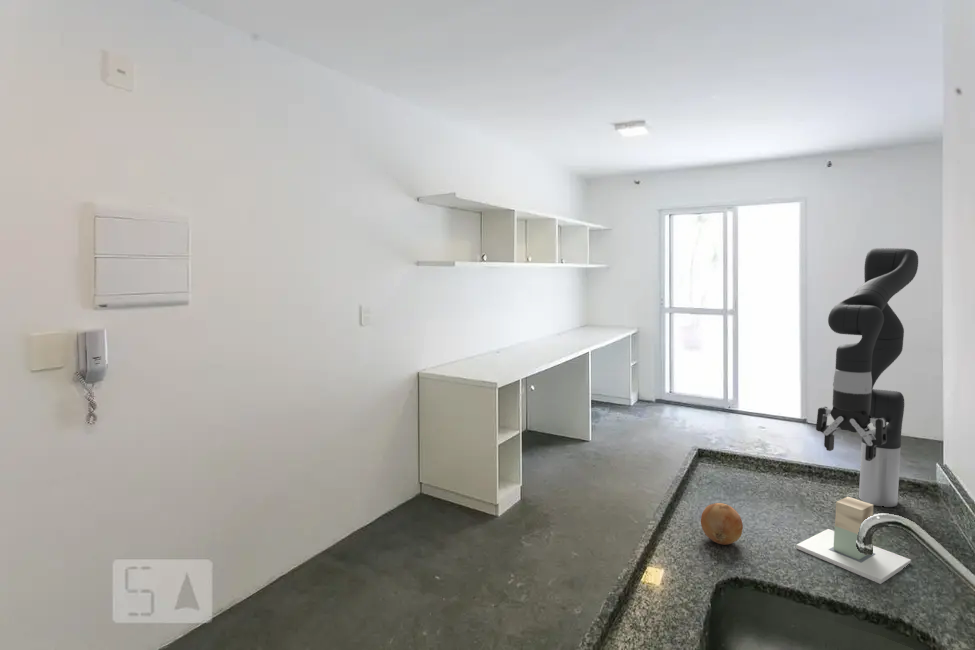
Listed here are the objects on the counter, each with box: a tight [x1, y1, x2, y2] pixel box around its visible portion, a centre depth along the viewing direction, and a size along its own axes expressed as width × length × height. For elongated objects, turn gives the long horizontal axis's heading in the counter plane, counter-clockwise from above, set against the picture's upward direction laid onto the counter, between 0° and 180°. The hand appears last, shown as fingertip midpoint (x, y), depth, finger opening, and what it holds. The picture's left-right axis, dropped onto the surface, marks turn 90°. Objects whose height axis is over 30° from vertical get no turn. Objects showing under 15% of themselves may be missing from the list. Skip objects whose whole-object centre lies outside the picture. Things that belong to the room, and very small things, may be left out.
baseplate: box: [795, 528, 912, 585], centre depth 127 cm, size 15×18×1 cm
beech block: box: [834, 496, 874, 534], centre depth 126 cm, size 6×6×6 cm
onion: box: [700, 502, 744, 546], centre depth 134 cm, size 10×10×10 cm
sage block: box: [833, 525, 866, 560], centre depth 126 cm, size 6×6×6 cm
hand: (848, 454), depth 127 cm, fingers open, 8 cm apart
